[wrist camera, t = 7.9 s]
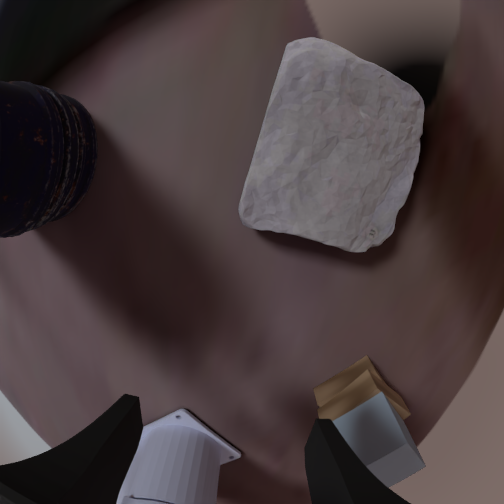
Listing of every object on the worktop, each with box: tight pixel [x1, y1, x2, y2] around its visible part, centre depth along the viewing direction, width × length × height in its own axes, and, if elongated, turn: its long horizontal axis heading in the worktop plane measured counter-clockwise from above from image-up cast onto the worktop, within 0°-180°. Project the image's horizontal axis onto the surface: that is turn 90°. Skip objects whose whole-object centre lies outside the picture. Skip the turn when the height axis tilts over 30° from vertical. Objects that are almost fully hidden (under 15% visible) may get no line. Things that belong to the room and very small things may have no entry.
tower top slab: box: [317, 369, 411, 421], centre depth 20 cm, size 5×5×2 cm
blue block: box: [332, 392, 425, 488], centre depth 16 cm, size 4×4×5 cm
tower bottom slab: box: [313, 356, 386, 407], centre depth 22 cm, size 5×5×2 cm
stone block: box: [238, 37, 424, 252], centre depth 17 cm, size 12×5×10 cm
